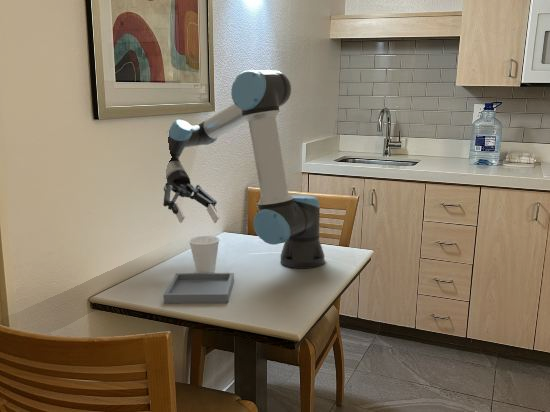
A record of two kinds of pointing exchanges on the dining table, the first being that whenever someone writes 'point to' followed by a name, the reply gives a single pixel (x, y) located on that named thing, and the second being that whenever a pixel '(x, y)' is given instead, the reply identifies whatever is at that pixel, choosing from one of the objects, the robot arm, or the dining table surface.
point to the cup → (204, 253)
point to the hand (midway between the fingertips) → (200, 220)
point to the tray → (199, 288)
